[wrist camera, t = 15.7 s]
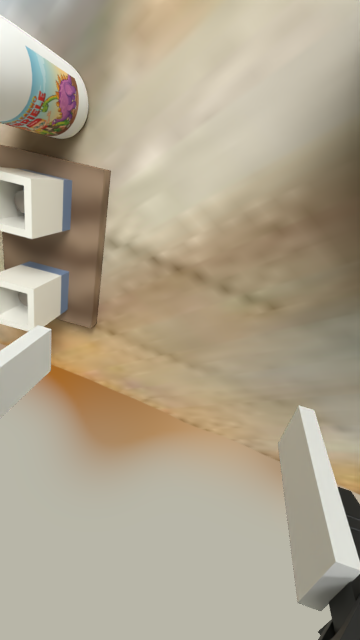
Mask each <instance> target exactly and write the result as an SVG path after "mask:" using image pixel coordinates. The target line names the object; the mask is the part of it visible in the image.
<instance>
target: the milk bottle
mask: <svg viewBox="0 0 360 640" xmlns="http://www.w3.org/2000/svg"><path fill="white" fill-rule="evenodd" d="M88 106H89V105H88V96H87V91H86V88H85V85H84V83H83V80H82V78H81V77H80V75H79V74H78V72H77V71H76V70H75V69H74V68H73V67H72V66H71V65H70V64H69V63H67V62H66V61H65V60H63V59H62V58H61V57H59V56H58V55H57V54H55V53H54V52H52V51H51V50H50V49H48V48H47V47H46V46H44V45H43V44H41V43H40V42H39V41H37V40H36V39H35V38H33V37H32V36H30V35H29V34H28V33H26V32H25V31H23V30H22V29H20V28H19V27H18V26H16V25H15V24H13V23H12V22H11V21H9V20H7V19H6V18H4V17H3V16H1V15H0V123H2V124H6V125H9V126H13V127H16V128H20V129H23V130H27V131H31V132H34V133H38V134H42V135H46V136H49V137H54V138H59V139H65V138H70V137H72V136H74V135H75V134H76V133H78V132H79V131H80V130H81V128H82V127H83V125H84V123H85V121H86V118H87V114H88Z"/></svg>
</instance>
